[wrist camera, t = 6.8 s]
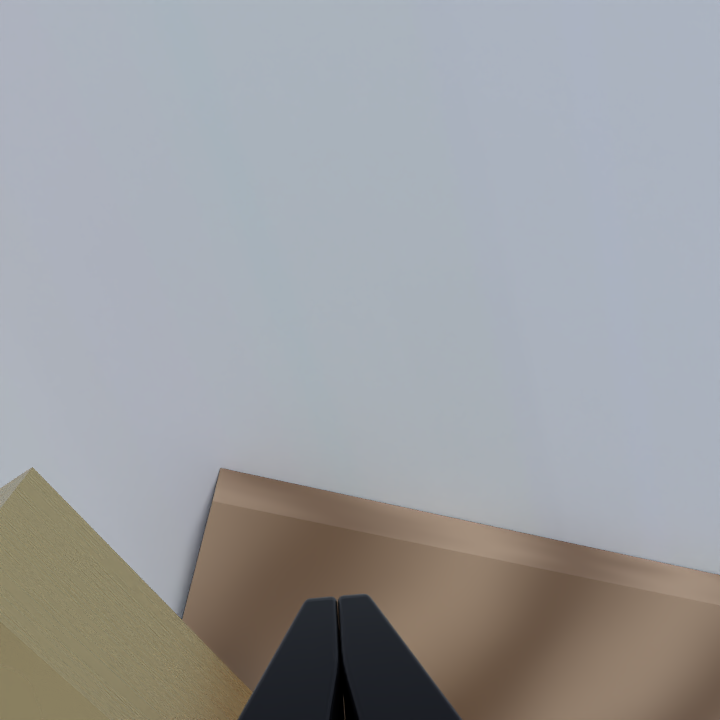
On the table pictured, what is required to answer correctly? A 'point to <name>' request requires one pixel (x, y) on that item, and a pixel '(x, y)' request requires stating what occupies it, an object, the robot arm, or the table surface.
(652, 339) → the table surface
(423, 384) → the table surface
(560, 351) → the table surface
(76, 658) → the beige elongated piece
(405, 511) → the base
